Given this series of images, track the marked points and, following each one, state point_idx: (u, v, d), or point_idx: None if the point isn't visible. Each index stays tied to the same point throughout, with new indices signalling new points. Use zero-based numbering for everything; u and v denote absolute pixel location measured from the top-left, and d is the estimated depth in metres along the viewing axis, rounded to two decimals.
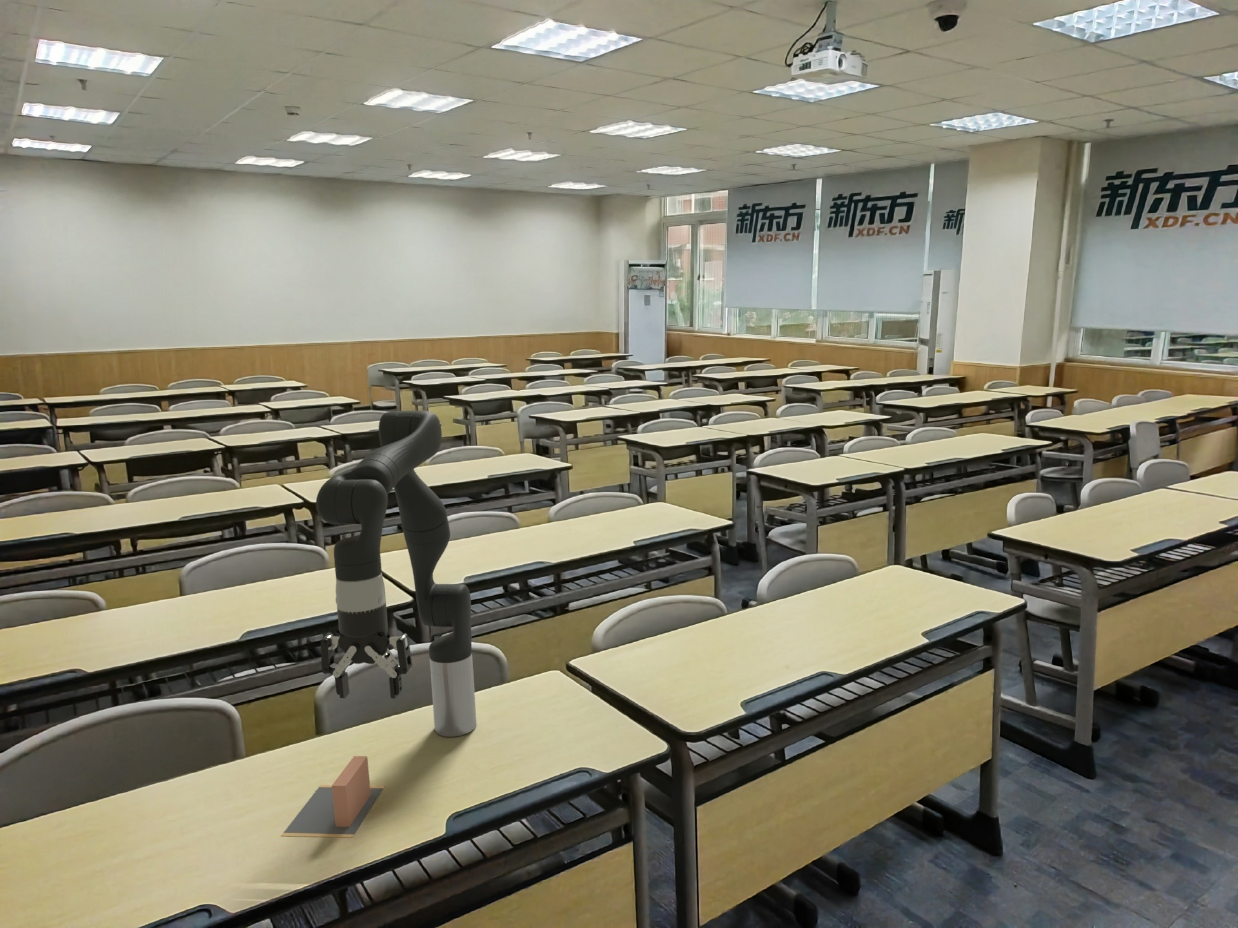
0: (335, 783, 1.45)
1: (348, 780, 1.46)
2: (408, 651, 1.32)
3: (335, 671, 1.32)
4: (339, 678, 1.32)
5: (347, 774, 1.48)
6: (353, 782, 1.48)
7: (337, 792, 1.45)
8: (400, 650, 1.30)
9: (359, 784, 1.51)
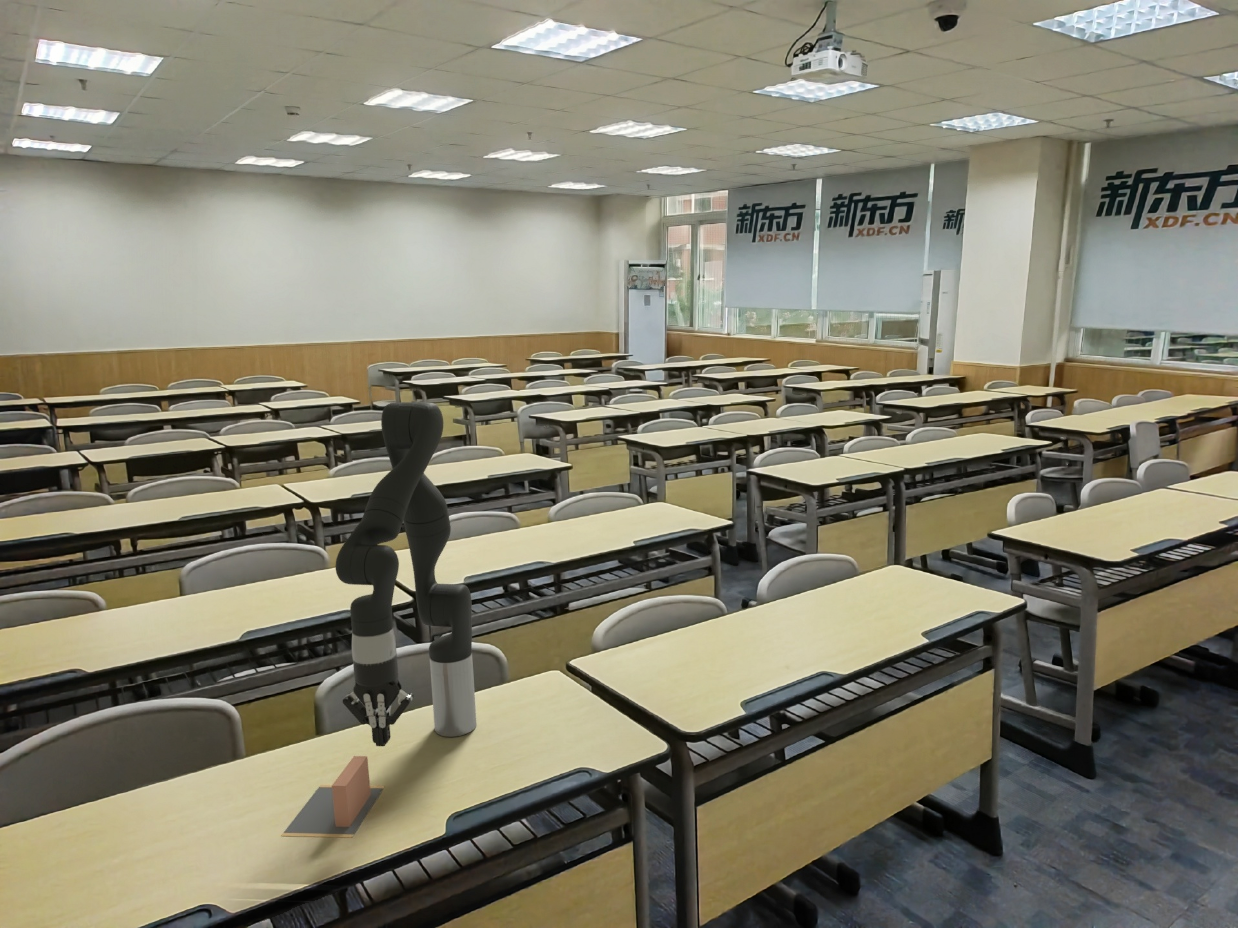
0: (335, 783, 1.45)
1: (348, 780, 1.46)
2: None
3: (371, 723, 1.46)
4: (375, 728, 1.46)
5: (347, 774, 1.48)
6: (353, 782, 1.48)
7: (337, 792, 1.45)
8: (401, 707, 1.45)
9: (359, 784, 1.51)
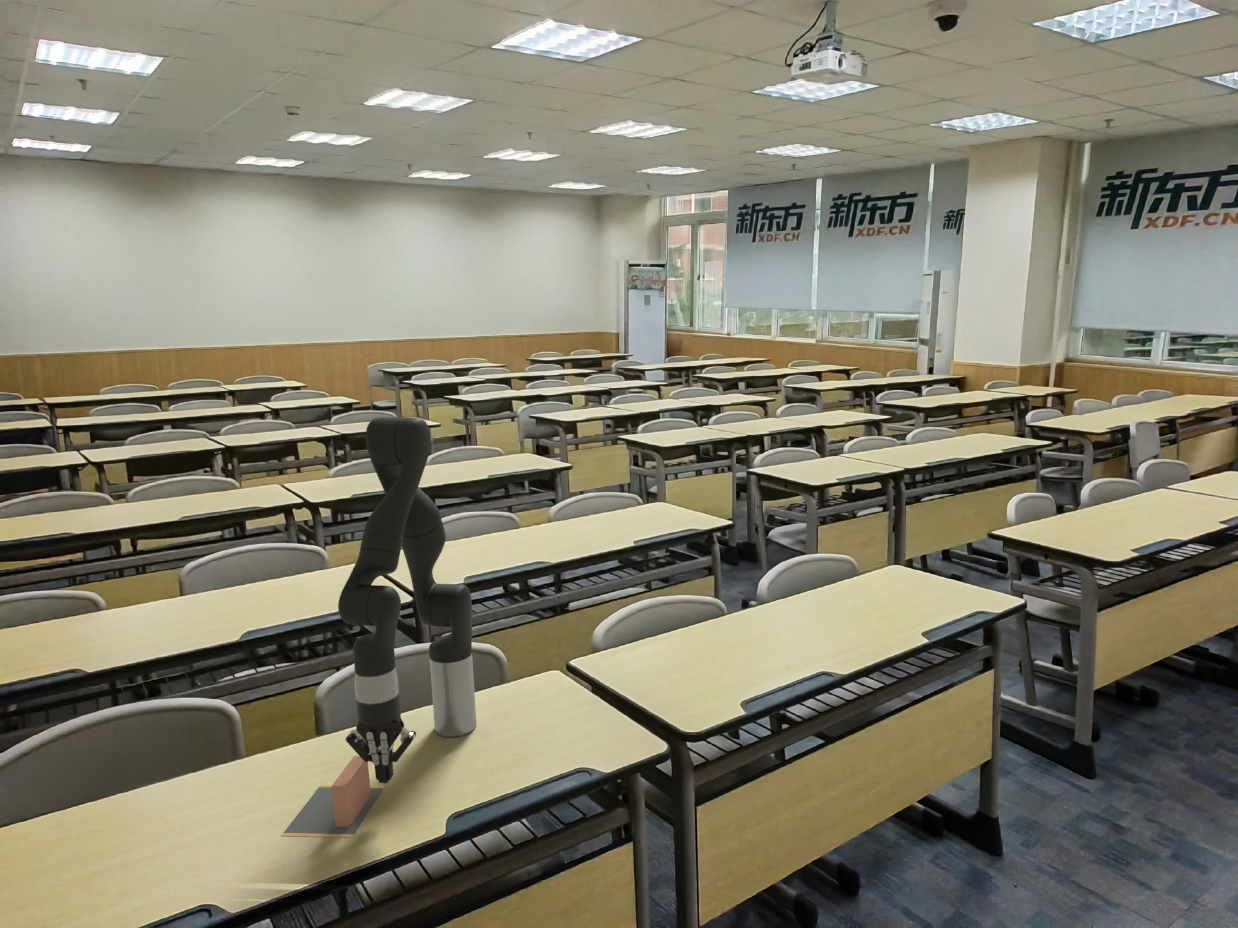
0: (335, 783, 1.45)
1: (348, 780, 1.46)
2: None
3: (374, 760, 1.47)
4: (378, 765, 1.48)
5: (347, 774, 1.48)
6: (353, 782, 1.48)
7: (337, 792, 1.45)
8: (404, 745, 1.46)
9: (359, 784, 1.51)
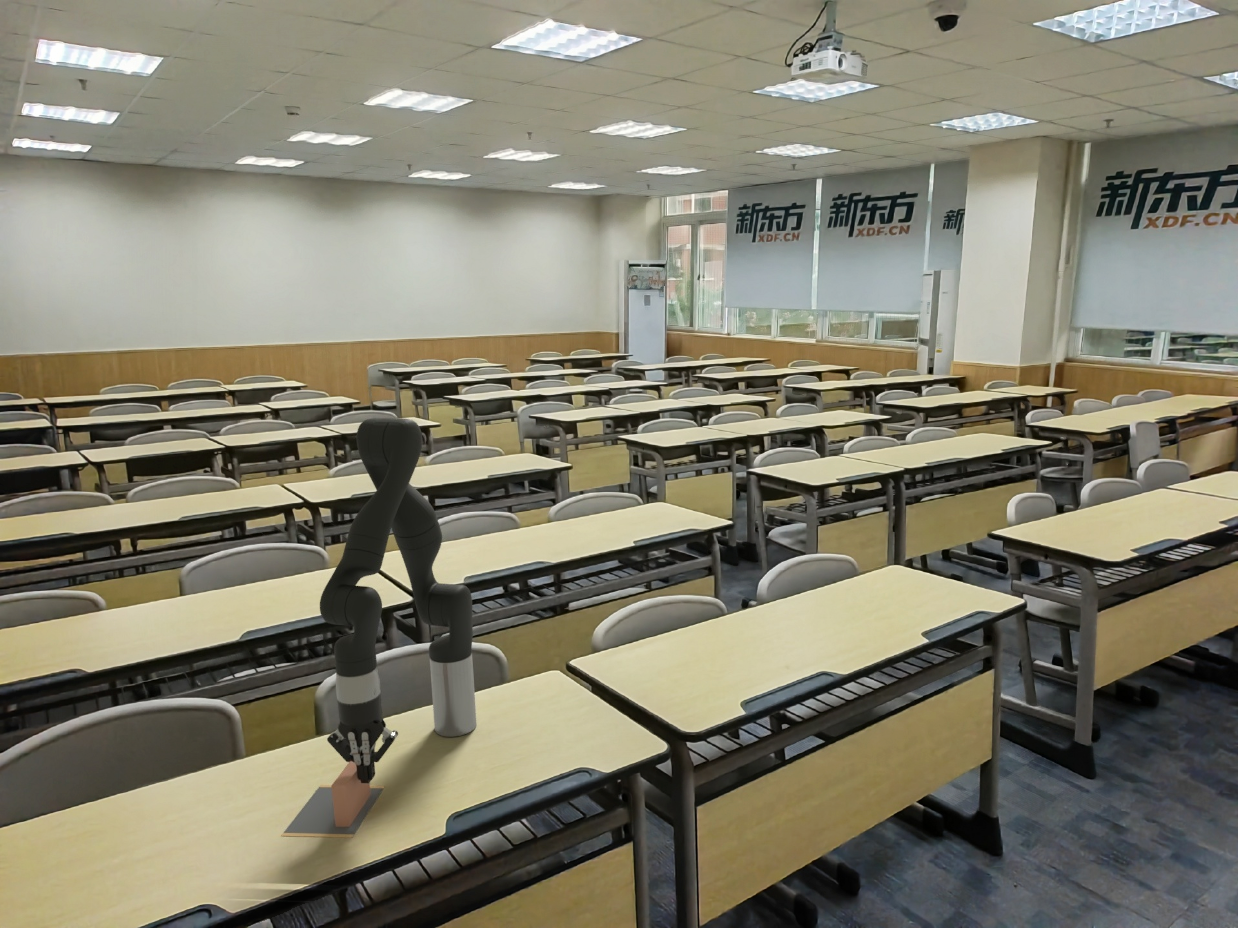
0: (335, 783, 1.45)
1: (348, 780, 1.46)
2: None
3: (355, 760, 1.48)
4: (360, 765, 1.48)
5: (347, 774, 1.48)
6: (353, 782, 1.48)
7: (337, 792, 1.45)
8: (386, 745, 1.47)
9: (359, 784, 1.51)
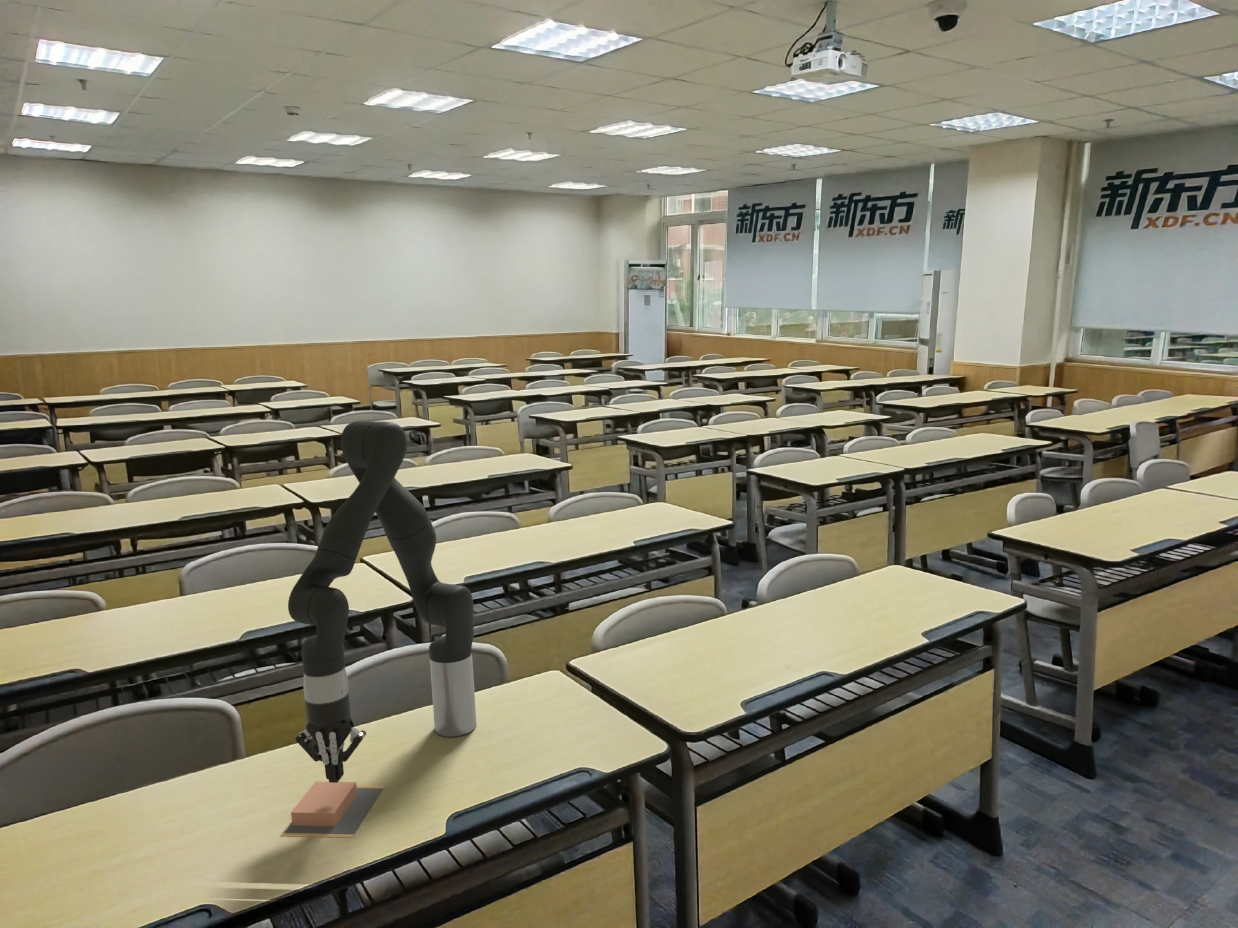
0: None
1: (295, 807, 1.48)
2: None
3: (323, 760, 1.48)
4: (328, 765, 1.49)
5: None
6: (305, 802, 1.49)
7: (299, 820, 1.47)
8: (353, 744, 1.47)
9: (321, 794, 1.52)
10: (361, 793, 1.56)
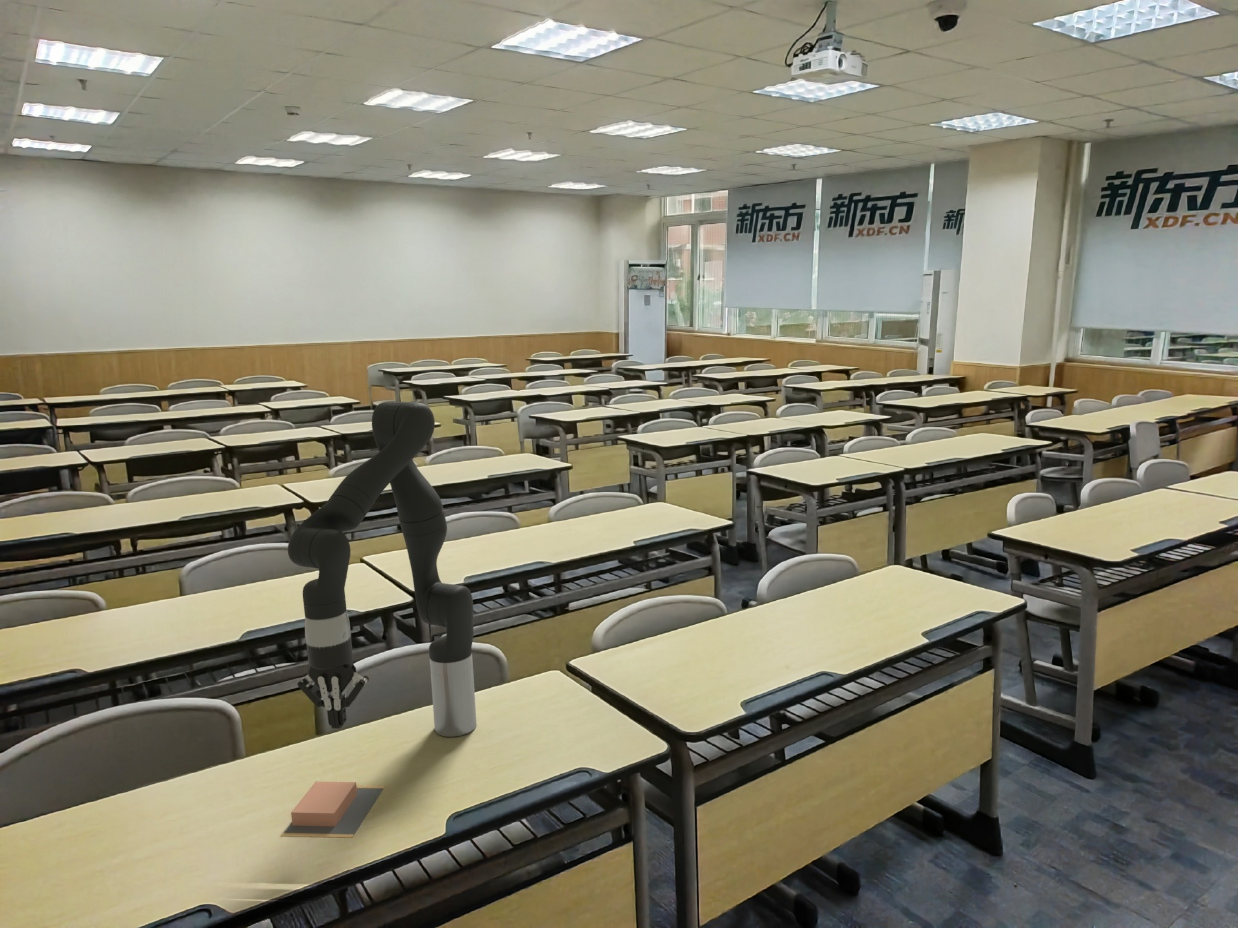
0: None
1: (295, 807, 1.48)
2: (360, 691, 1.47)
3: (326, 705, 1.46)
4: (331, 710, 1.47)
5: None
6: (305, 802, 1.49)
7: (299, 820, 1.47)
8: (356, 689, 1.45)
9: (321, 794, 1.52)
10: (361, 793, 1.56)
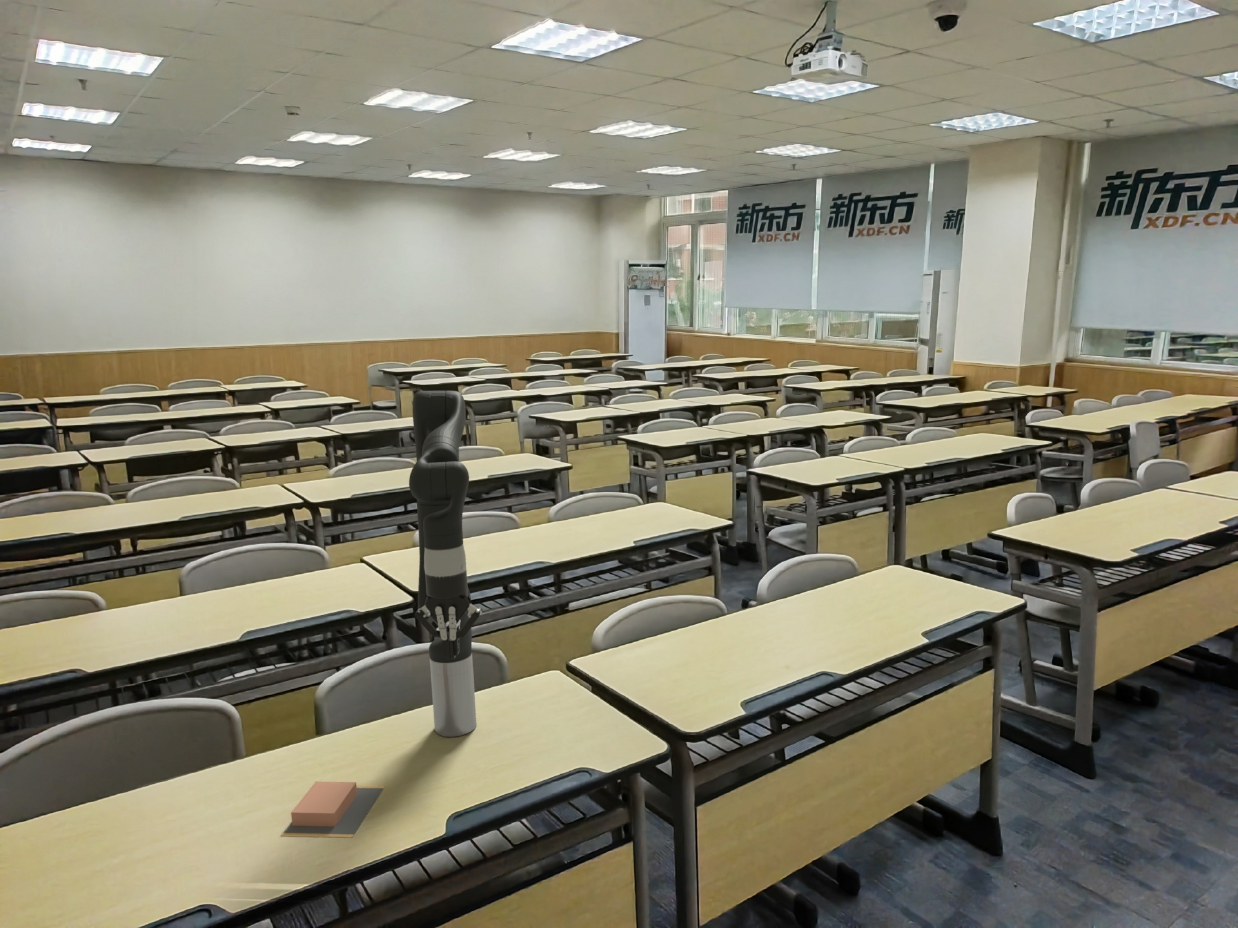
0: None
1: (295, 807, 1.48)
2: None
3: (442, 635, 1.52)
4: (446, 641, 1.52)
5: None
6: (305, 802, 1.49)
7: (299, 820, 1.47)
8: (472, 619, 1.51)
9: (321, 794, 1.52)
10: (361, 793, 1.56)
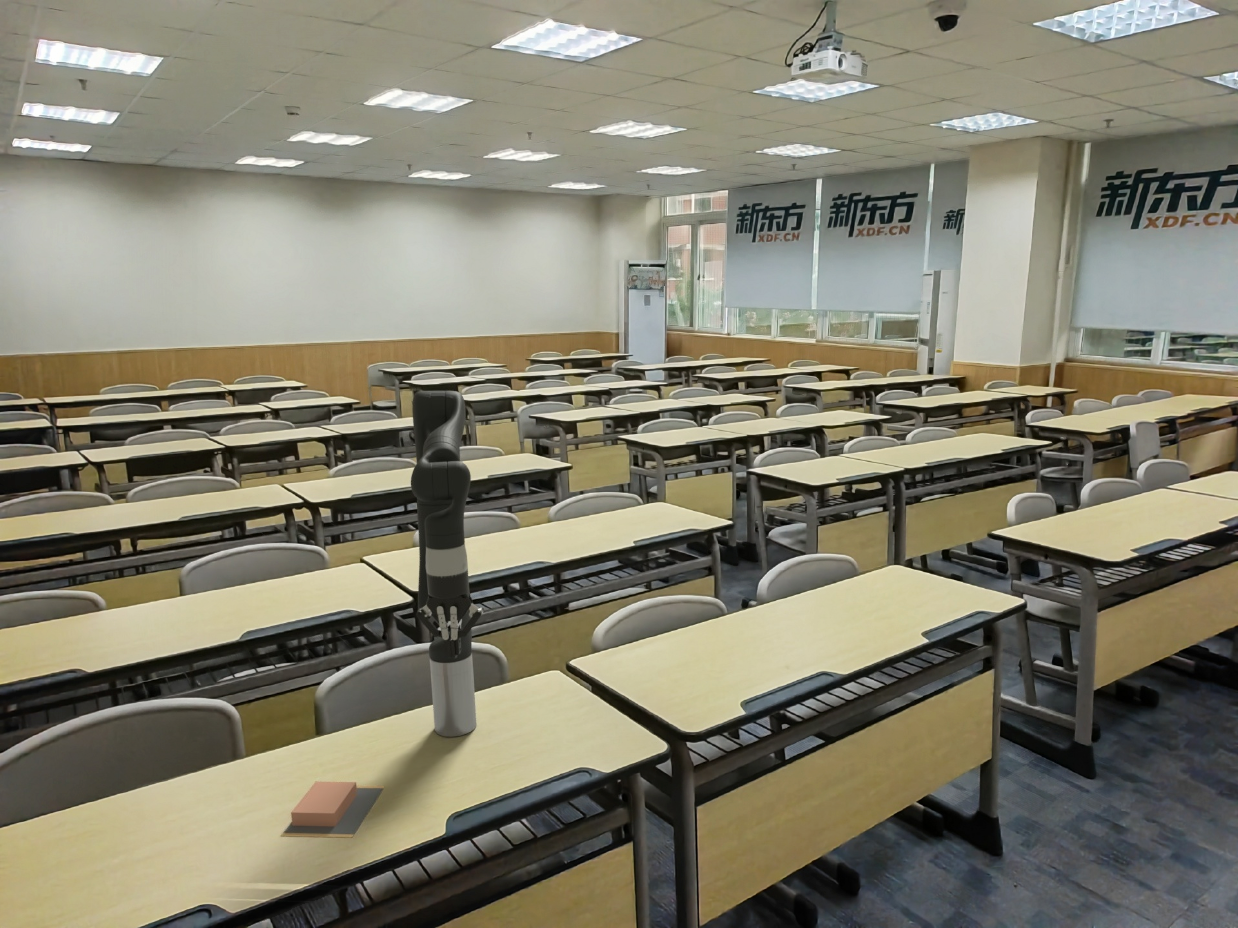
0: None
1: (295, 807, 1.48)
2: None
3: (443, 635, 1.52)
4: (448, 640, 1.52)
5: None
6: (305, 802, 1.49)
7: (299, 820, 1.47)
8: (473, 619, 1.51)
9: (321, 794, 1.52)
10: (361, 793, 1.56)
